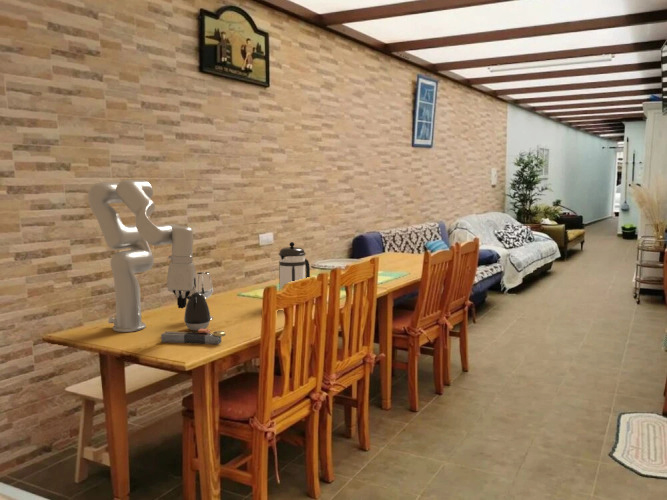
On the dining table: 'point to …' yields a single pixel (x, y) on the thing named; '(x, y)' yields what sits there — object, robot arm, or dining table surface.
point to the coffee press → (292, 265)
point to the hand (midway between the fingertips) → (181, 307)
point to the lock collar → (204, 331)
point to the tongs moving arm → (190, 338)
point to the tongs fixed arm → (216, 333)
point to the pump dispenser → (197, 312)
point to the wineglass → (204, 285)
